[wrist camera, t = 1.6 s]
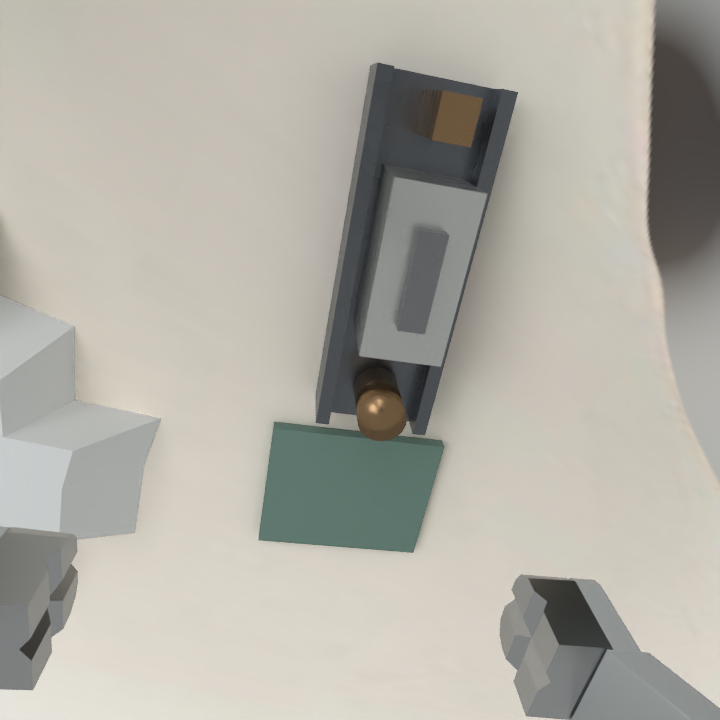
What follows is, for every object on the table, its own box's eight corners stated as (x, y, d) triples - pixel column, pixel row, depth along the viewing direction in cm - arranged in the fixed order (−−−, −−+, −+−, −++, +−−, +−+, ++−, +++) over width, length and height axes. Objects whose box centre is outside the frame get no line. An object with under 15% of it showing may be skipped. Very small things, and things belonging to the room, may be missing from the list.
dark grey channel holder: (370, 65, 29) (386, 58, 23) (496, 92, 30) (544, 92, 24) (315, 394, 38) (315, 456, 31) (415, 406, 39) (435, 468, 32)
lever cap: (382, 163, 29) (396, 179, 24) (461, 178, 30) (492, 196, 25) (353, 320, 33) (360, 362, 28) (424, 330, 34) (443, 373, 29)
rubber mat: (274, 421, 38) (273, 428, 38) (441, 440, 40) (443, 447, 39) (259, 532, 42) (258, 540, 42) (411, 545, 44) (413, 552, 43)
